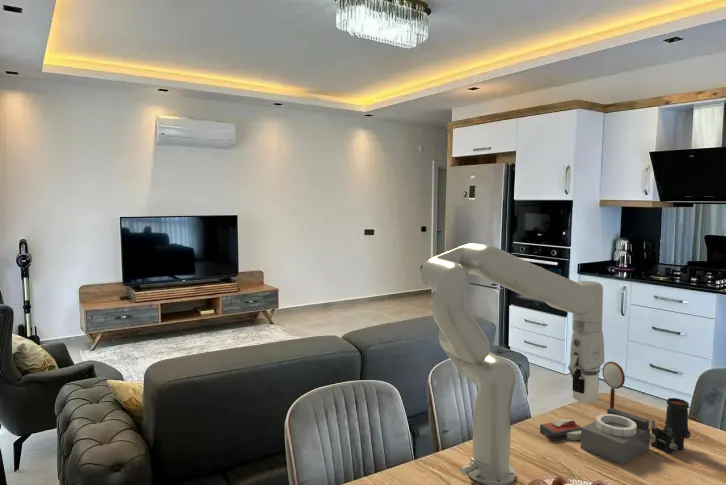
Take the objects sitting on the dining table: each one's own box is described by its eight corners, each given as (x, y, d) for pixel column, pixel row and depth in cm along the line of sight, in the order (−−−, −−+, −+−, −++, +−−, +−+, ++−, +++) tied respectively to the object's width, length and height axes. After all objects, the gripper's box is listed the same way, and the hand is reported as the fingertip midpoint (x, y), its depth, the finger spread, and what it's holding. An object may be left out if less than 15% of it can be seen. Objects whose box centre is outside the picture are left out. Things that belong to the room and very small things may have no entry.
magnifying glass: (623, 426, 160) (626, 365, 159) (619, 427, 160) (622, 366, 158) (603, 415, 168) (605, 358, 167) (599, 416, 168) (601, 358, 166)
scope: (650, 399, 147) (673, 394, 151) (647, 444, 148) (671, 438, 152) (676, 409, 140) (700, 404, 144) (674, 457, 141) (697, 450, 145)
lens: (589, 404, 135) (590, 371, 134) (568, 397, 140) (568, 365, 139) (602, 398, 138) (603, 366, 138) (580, 392, 144) (581, 361, 143)
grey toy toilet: (621, 464, 137) (623, 435, 136) (580, 447, 146) (581, 419, 146) (649, 448, 146) (650, 420, 145) (609, 433, 156) (610, 407, 155)
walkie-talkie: (553, 445, 148) (607, 436, 154) (554, 431, 148) (608, 422, 154) (535, 433, 156) (586, 424, 163) (535, 419, 156) (587, 411, 162)
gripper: (582, 334, 129) (580, 400, 131) (616, 323, 139) (615, 386, 141) (556, 328, 135) (555, 392, 137) (591, 319, 146) (589, 378, 147)
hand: (585, 388), depth 139 cm, fingers closed on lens, 6 cm apart
